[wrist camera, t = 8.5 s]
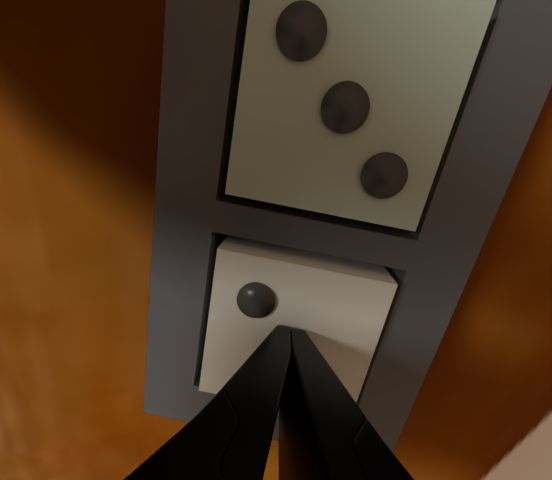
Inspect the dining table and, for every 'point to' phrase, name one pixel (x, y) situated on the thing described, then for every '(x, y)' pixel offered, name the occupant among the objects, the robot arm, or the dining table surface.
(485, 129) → the grey flat block
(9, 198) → the dining table surface
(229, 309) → the two dot key
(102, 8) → the dining table surface
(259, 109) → the three dot key
